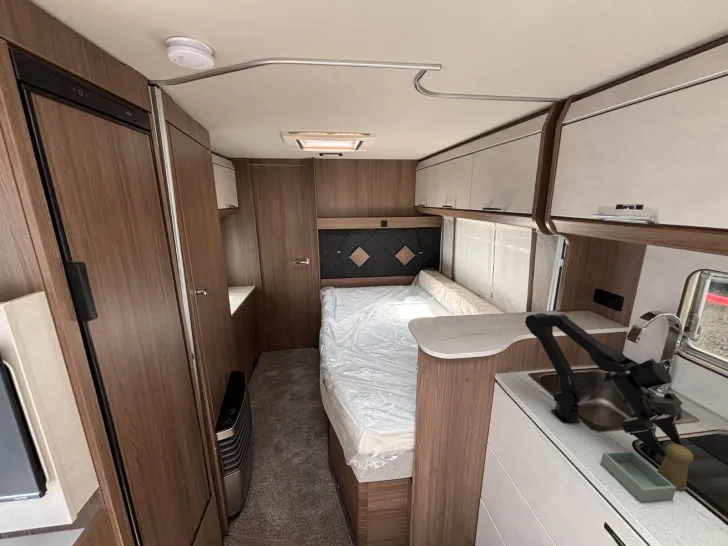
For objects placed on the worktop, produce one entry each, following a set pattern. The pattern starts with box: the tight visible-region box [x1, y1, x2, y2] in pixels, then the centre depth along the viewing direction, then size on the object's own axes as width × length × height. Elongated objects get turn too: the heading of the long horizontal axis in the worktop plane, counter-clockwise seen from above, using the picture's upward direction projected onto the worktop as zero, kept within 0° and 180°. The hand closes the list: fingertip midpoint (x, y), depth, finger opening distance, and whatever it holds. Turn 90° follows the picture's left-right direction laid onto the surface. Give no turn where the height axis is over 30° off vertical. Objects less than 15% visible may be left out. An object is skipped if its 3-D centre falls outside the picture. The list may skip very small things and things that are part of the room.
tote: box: [600, 450, 676, 504], centre depth 85 cm, size 12×9×4 cm
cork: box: [656, 442, 694, 493], centre depth 84 cm, size 6×6×11 cm
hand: (672, 450), depth 84 cm, fingers open, 9 cm apart
